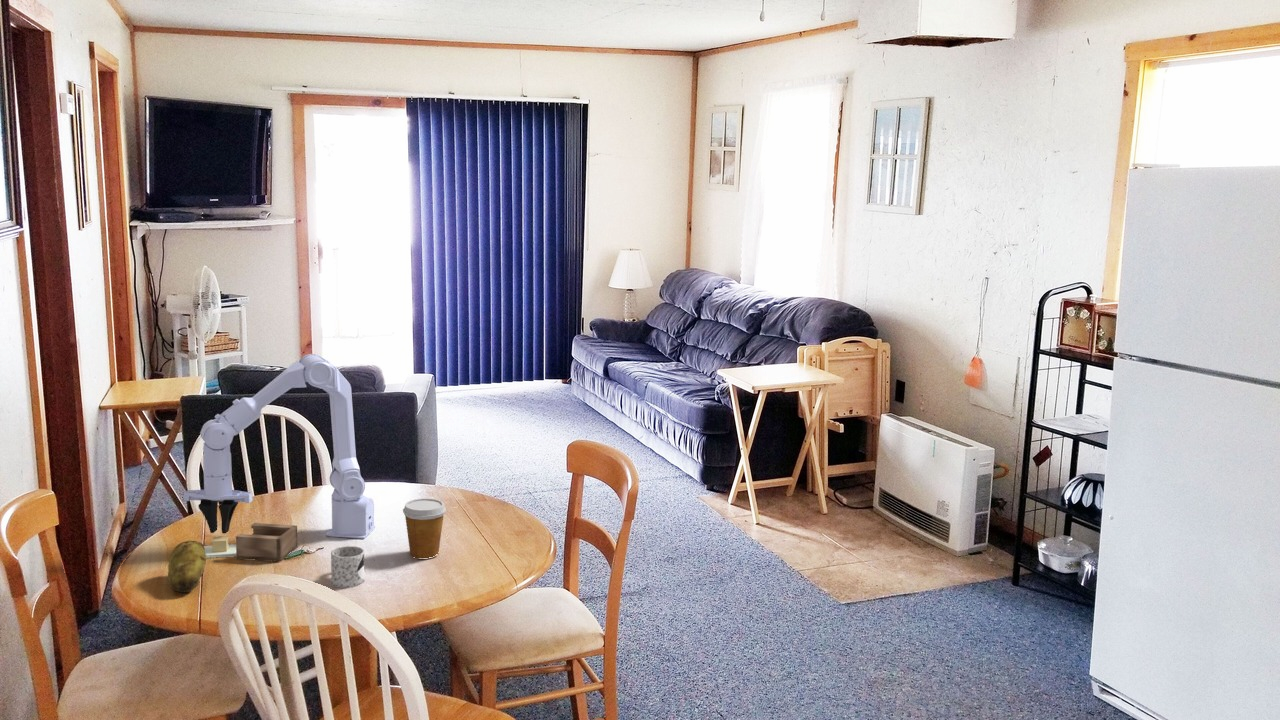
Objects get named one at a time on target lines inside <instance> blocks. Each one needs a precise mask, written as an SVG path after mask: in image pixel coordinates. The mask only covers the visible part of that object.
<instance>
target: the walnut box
mask: <svg viewBox="0 0 1280 720" xmlns="http://www.w3.org/2000/svg"><path fill="white" fill-rule="evenodd" d="M250 528H251V529H252V531H253V532H252V534H248V533H247V534H246V533H245V534H244V533H239V534H237V535H236V536H235V544H236V557H235V558H236V560H245V559H255V560H254V561H261V560H262V562H263V561H265V562H276V563H277V562H280V563H281V562H282V561H283V560H285V559H286V558H287V557H288V556H289V555H290V554H291V553H293V552H294V551H295V550H296V549H298V525H291V524H276V523H275V524H274V523H261V522H254V523H253V524H251V526H250ZM292 551H293V552H292ZM290 552H291V553H290ZM289 553H290V554H289ZM288 554H289V555H288ZM287 555H288V556H287ZM286 556H287V557H286Z"/></svg>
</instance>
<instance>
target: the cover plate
mask: <svg viewBox="0 0 1280 720" xmlns="http://www.w3.org/2000/svg"><path fill="white" fill-rule="evenodd" d="M203 546H204V548H205V554H206V559H219V558H220V557H223V558H235V557H234V556H236V543H234V544H231V543H230V544H229V535H225V536H224V535H220V536H213V538H212V540H211V545H203ZM210 557H211V558H210ZM216 557H218V558H216Z"/></svg>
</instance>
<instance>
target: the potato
mask: <svg viewBox="0 0 1280 720" xmlns="http://www.w3.org/2000/svg"><path fill="white" fill-rule="evenodd" d="M204 546H205V545H204V544H203V543H202V542H199V541H197V540H186V541H182V542H179V543H178V544H177V545H176V546H175V547H174V548H173V550H172V552H171V554H170V557H169V563H168V571H167V580H168V583H169V586H170V587H171V588H172V589H173V590H174V591H177V592H179V593H188V592H191V591H193V590H194V589H196V588H197V587H198V586H199V584H200V582H201V581H200V579H201V578H202V577H203V574H204V571H205V567H206V562H207V558H206V554H205V548H204Z"/></svg>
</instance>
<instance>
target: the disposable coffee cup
mask: <svg viewBox="0 0 1280 720" xmlns="http://www.w3.org/2000/svg"><path fill="white" fill-rule="evenodd" d="M446 511H447V508H446V506H445V503H444V502H443V501H442V500H440V499H436V498H417V499H412V500H409V501H407V502H406V503H405V505H404V508H403V509H402V512H403V514H404V517H405V524H406V525H405V526H406V532H407V540H408V547H409V548H408V549H409V554H410V555H411V556H412V557H415V558H429V557H433V556H435V555H436V554H438V555H439V553H438V552H439V551H440V545H441V537H442V530H443V522H444V515H445V512H446ZM411 556H410V557H411ZM415 558H414V559H415Z"/></svg>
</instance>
